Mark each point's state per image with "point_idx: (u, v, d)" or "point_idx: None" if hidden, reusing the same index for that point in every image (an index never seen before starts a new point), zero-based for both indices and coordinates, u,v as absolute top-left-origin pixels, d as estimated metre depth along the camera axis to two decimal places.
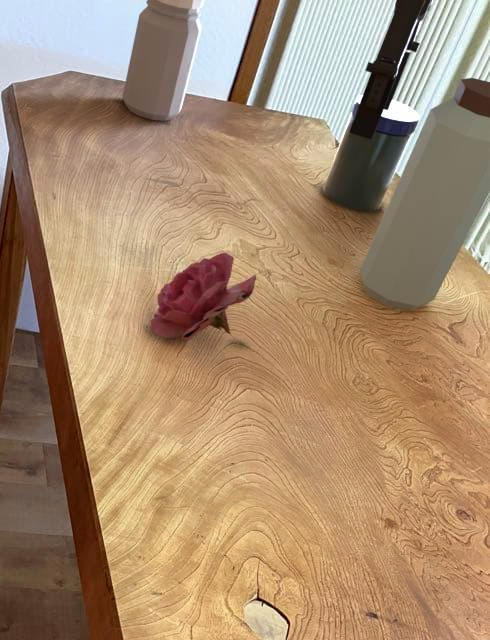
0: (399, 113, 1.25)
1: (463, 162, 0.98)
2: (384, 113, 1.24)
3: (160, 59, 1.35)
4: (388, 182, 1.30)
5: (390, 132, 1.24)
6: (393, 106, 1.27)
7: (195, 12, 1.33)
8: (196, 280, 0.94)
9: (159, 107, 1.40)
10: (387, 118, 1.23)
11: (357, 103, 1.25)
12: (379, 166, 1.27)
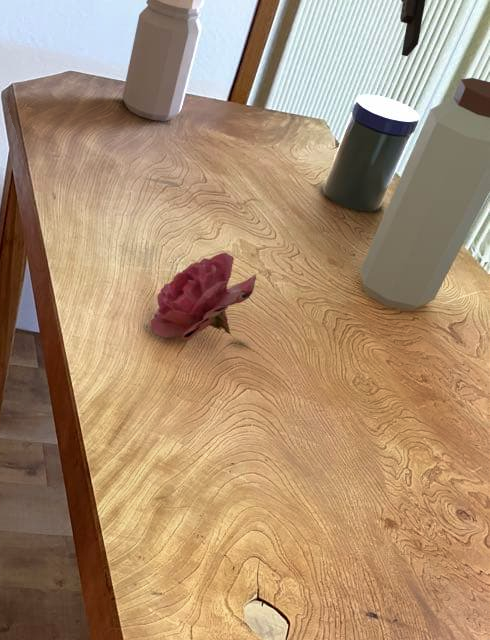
0: (399, 113, 1.25)
1: (463, 162, 0.98)
2: (384, 113, 1.24)
3: (160, 59, 1.35)
4: (388, 182, 1.30)
5: (390, 132, 1.24)
6: (393, 106, 1.27)
7: (195, 12, 1.33)
8: (196, 280, 0.94)
9: (159, 107, 1.40)
10: (387, 118, 1.23)
11: (357, 103, 1.25)
12: (379, 166, 1.27)
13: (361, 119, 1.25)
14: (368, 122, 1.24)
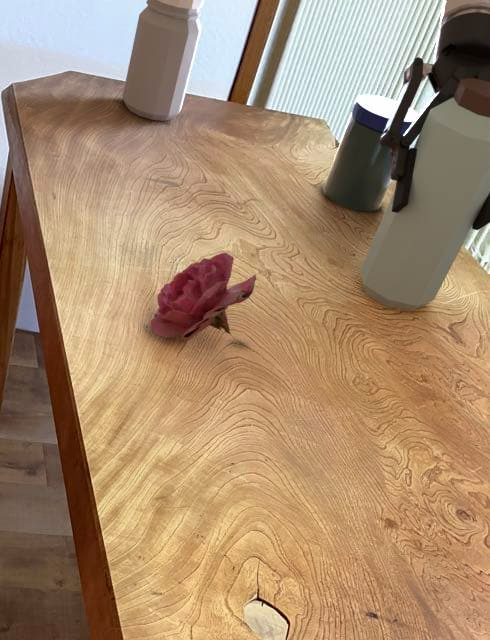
0: None
1: (463, 162, 0.98)
2: (384, 113, 1.24)
3: (160, 59, 1.35)
4: (388, 182, 1.30)
5: None
6: (393, 106, 1.27)
7: (195, 12, 1.33)
8: (196, 280, 0.94)
9: (159, 107, 1.40)
10: (387, 118, 1.23)
11: (357, 103, 1.25)
12: (379, 166, 1.27)
13: (361, 119, 1.25)
14: (368, 122, 1.24)
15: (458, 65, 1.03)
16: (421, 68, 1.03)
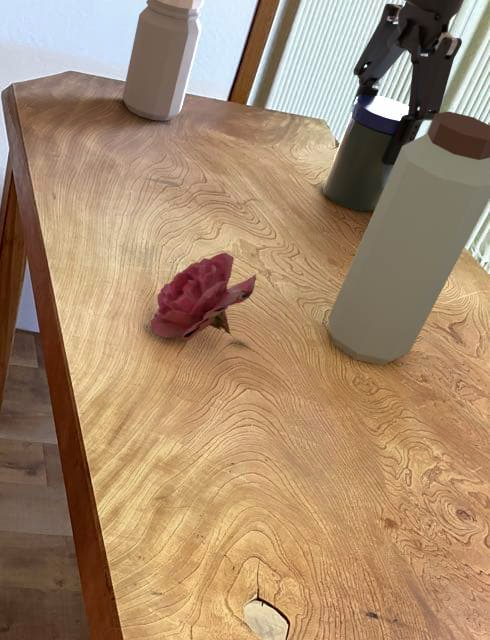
0: (399, 113, 1.25)
1: (438, 206, 0.88)
2: (384, 113, 1.24)
3: (160, 59, 1.35)
4: None
5: (390, 132, 1.24)
6: (393, 106, 1.27)
7: (195, 12, 1.33)
8: (196, 280, 0.94)
9: (159, 107, 1.40)
10: (387, 118, 1.23)
11: (357, 103, 1.25)
12: (379, 166, 1.27)
13: (361, 119, 1.25)
14: (368, 122, 1.24)
15: (411, 14, 1.18)
16: (387, 14, 1.22)
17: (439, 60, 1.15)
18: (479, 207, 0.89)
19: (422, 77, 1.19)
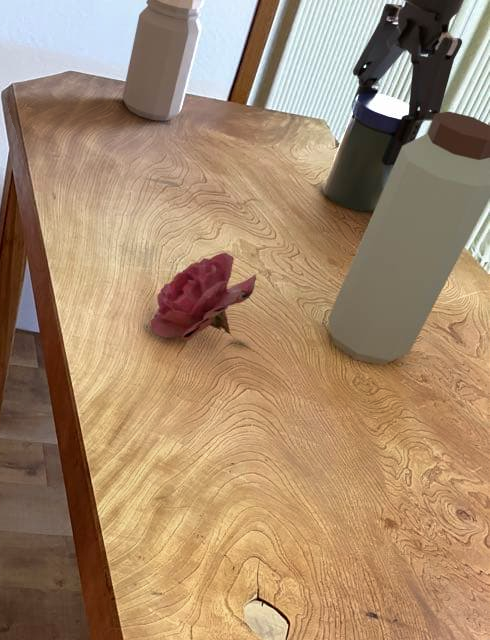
0: (395, 104, 1.27)
1: (438, 206, 0.88)
2: None
3: (160, 59, 1.35)
4: None
5: None
6: (379, 101, 1.26)
7: (195, 12, 1.33)
8: (196, 280, 0.94)
9: (159, 107, 1.40)
10: None
11: (398, 119, 1.23)
12: (379, 166, 1.27)
13: None
14: None
15: (411, 14, 1.18)
16: (387, 14, 1.22)
17: (440, 60, 1.15)
18: (479, 207, 0.89)
19: (422, 77, 1.19)
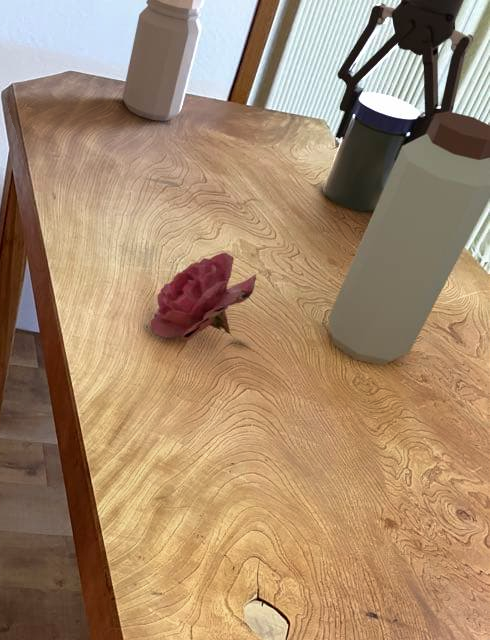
0: (388, 101, 1.27)
1: (438, 206, 0.88)
2: (407, 108, 1.26)
3: (160, 59, 1.35)
4: None
5: None
6: (377, 102, 1.26)
7: (195, 12, 1.33)
8: (196, 280, 0.94)
9: (159, 107, 1.40)
10: (414, 108, 1.27)
11: (413, 120, 1.24)
12: (379, 167, 1.27)
13: None
14: None
15: (412, 15, 1.17)
16: (377, 16, 1.20)
17: (460, 59, 1.17)
18: (479, 207, 0.89)
19: (434, 76, 1.20)
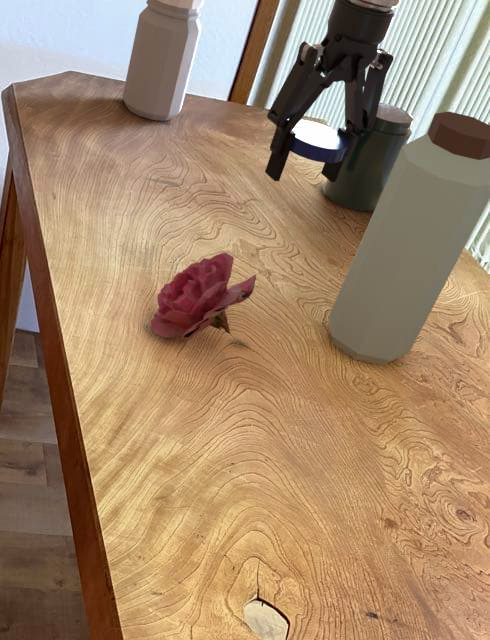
0: (305, 127, 1.23)
1: (438, 206, 0.88)
2: (321, 128, 1.24)
3: (160, 59, 1.35)
4: None
5: None
6: (310, 135, 1.21)
7: (195, 12, 1.33)
8: (196, 280, 0.94)
9: (159, 107, 1.40)
10: (318, 124, 1.25)
11: None
12: (379, 167, 1.27)
13: None
14: None
15: (345, 49, 1.13)
16: (315, 59, 1.12)
17: (385, 76, 1.18)
18: (479, 207, 0.89)
19: None
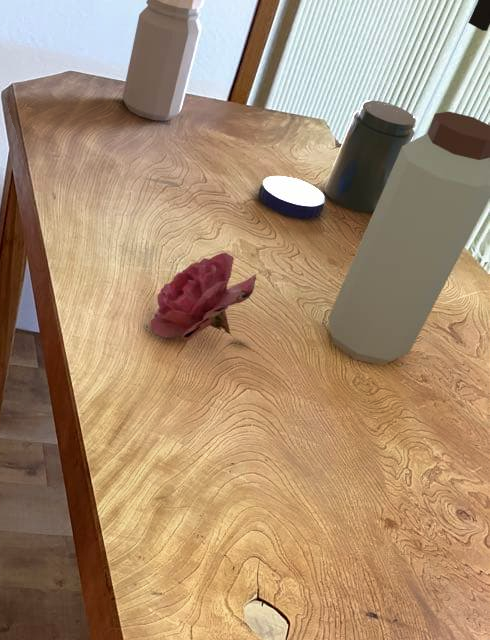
0: (283, 184, 1.28)
1: (438, 206, 0.88)
2: (299, 184, 1.30)
3: (160, 59, 1.35)
4: None
5: None
6: (287, 192, 1.27)
7: (195, 12, 1.33)
8: (196, 280, 0.94)
9: (159, 107, 1.40)
10: (296, 180, 1.31)
11: (323, 196, 1.28)
12: (376, 167, 1.27)
13: None
14: None
15: None
16: None
17: None
18: (479, 207, 0.89)
19: None
